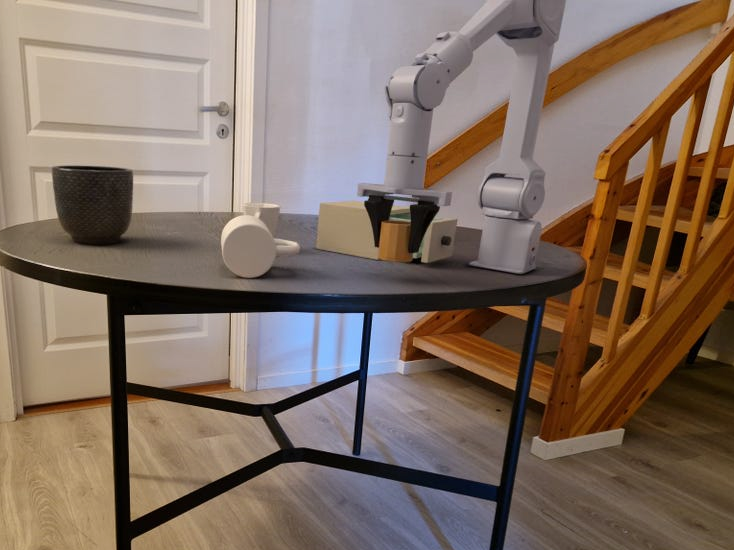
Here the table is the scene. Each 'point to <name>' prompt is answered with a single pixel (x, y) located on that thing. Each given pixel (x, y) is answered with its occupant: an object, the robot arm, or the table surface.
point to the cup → (263, 214)
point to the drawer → (434, 238)
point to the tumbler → (395, 241)
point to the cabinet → (348, 228)
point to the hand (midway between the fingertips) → (395, 249)
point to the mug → (252, 246)
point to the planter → (93, 202)
